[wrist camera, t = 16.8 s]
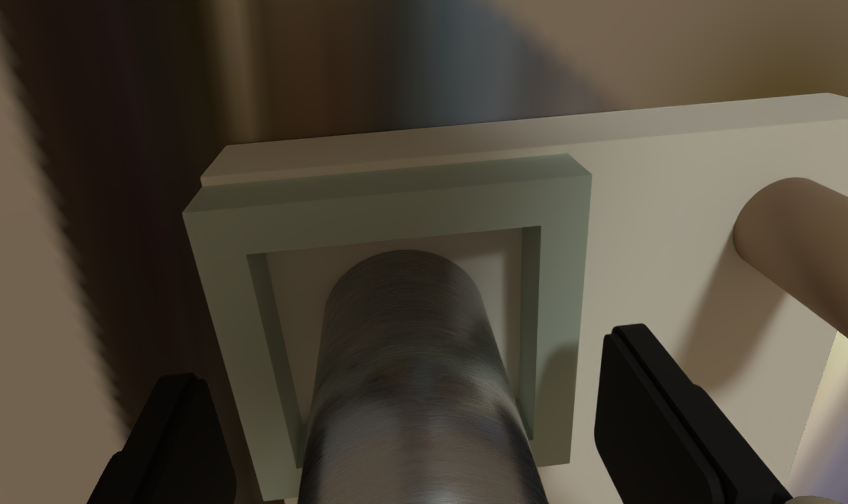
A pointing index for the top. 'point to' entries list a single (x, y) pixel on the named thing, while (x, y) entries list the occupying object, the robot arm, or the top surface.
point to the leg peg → (413, 394)
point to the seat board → (548, 261)
